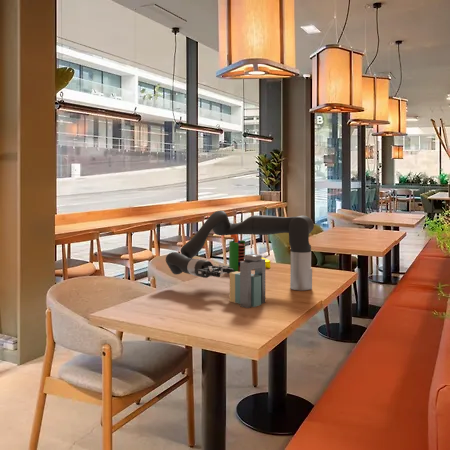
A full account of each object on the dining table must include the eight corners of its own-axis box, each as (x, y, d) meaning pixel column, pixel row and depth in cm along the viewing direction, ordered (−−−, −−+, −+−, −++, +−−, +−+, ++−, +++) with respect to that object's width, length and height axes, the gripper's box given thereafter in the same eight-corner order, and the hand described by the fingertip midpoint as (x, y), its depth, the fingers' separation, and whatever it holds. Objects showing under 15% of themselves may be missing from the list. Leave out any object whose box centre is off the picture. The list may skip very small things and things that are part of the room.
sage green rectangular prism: (261, 304, 203) (261, 275, 201) (254, 307, 199) (254, 277, 198) (236, 299, 212) (236, 271, 210) (229, 301, 208) (229, 272, 207)
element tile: (246, 270, 276) (246, 261, 276) (237, 265, 290) (237, 257, 290) (271, 268, 281) (271, 260, 280) (261, 264, 295) (261, 255, 294)
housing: (268, 303, 205) (268, 254, 203) (250, 308, 197) (250, 258, 195) (254, 300, 209) (254, 253, 207) (237, 305, 201) (237, 256, 199)
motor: (243, 272, 269) (243, 234, 267) (227, 271, 271) (227, 234, 269) (246, 268, 279) (246, 232, 277) (230, 268, 281) (230, 232, 279)
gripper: (211, 274, 227) (238, 279, 216) (188, 278, 217) (214, 284, 206) (211, 257, 226) (238, 262, 215) (188, 261, 216) (214, 266, 205)
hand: (226, 273), depth 211 cm, fingers open, 8 cm apart
